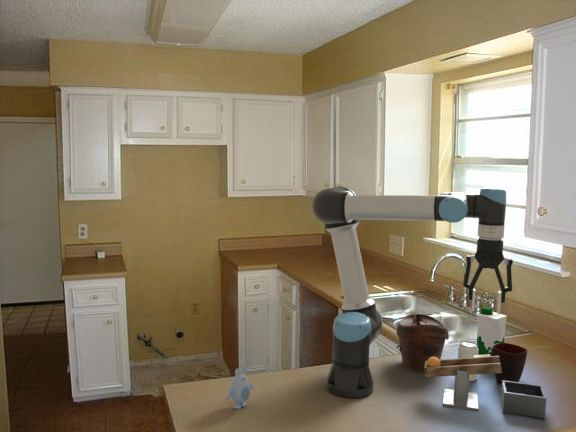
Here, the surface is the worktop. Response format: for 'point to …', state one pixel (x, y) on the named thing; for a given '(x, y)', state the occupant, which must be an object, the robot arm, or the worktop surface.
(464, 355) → the can
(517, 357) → the cup
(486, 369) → the lever
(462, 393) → the stand
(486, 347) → the milk carton
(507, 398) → the tin
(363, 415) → the worktop surface
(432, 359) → the ball
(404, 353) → the case
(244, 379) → the toy figure
